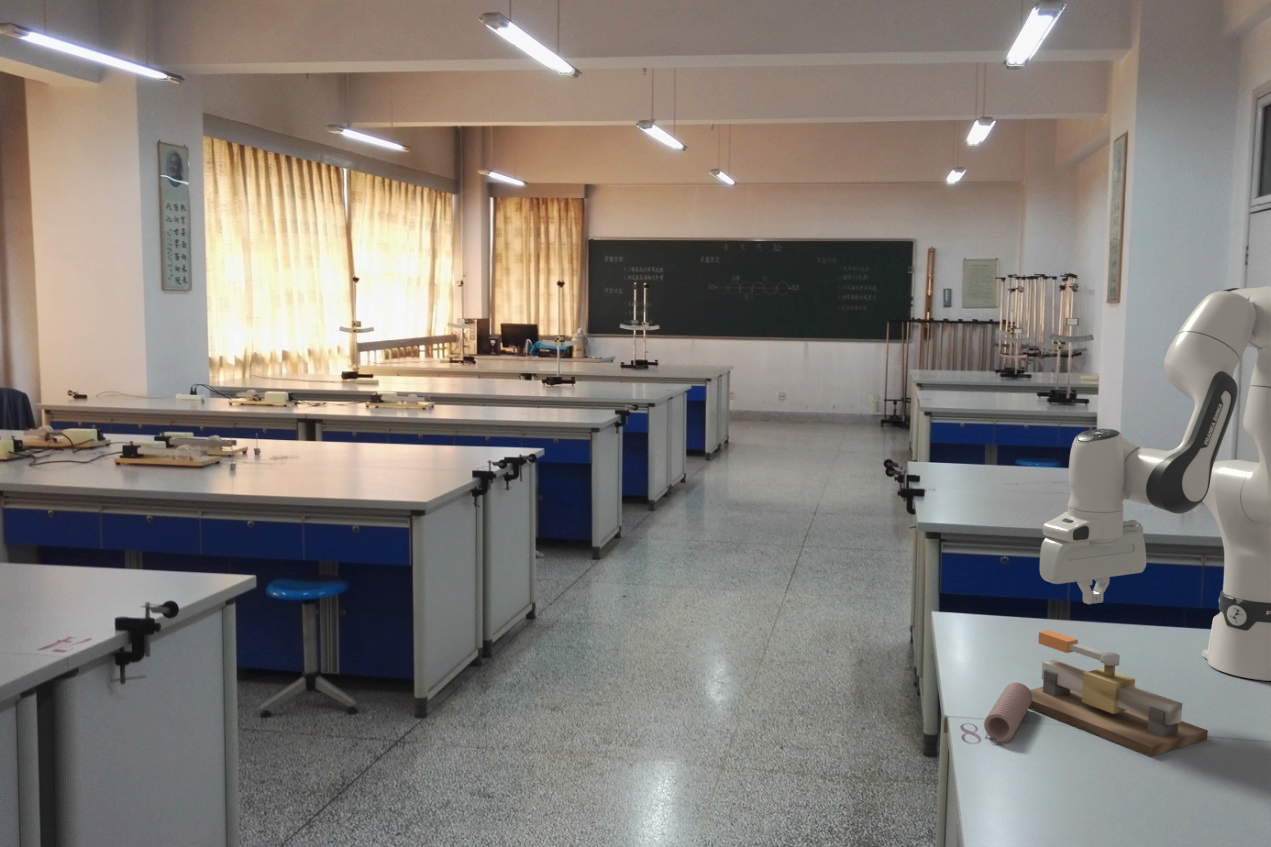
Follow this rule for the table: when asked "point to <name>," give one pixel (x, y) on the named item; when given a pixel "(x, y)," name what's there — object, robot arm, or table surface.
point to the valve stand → (1113, 708)
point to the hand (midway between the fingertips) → (1092, 602)
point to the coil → (1008, 712)
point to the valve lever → (1076, 647)
